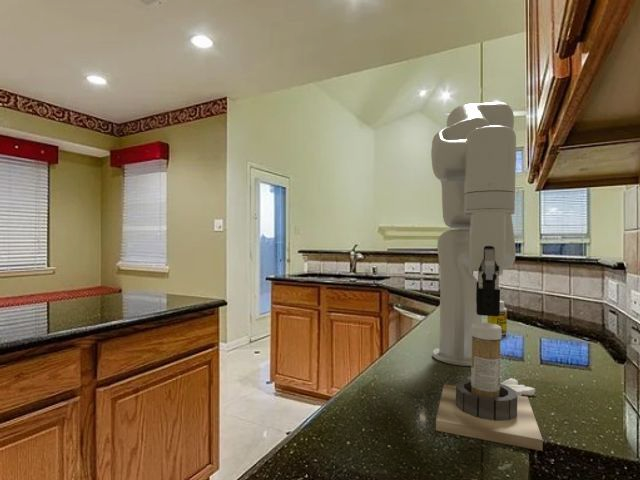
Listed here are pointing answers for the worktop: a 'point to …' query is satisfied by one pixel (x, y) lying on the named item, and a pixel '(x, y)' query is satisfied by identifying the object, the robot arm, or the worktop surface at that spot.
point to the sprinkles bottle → (485, 359)
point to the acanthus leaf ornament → (518, 387)
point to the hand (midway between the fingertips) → (486, 309)
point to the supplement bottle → (500, 318)
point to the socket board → (488, 416)
